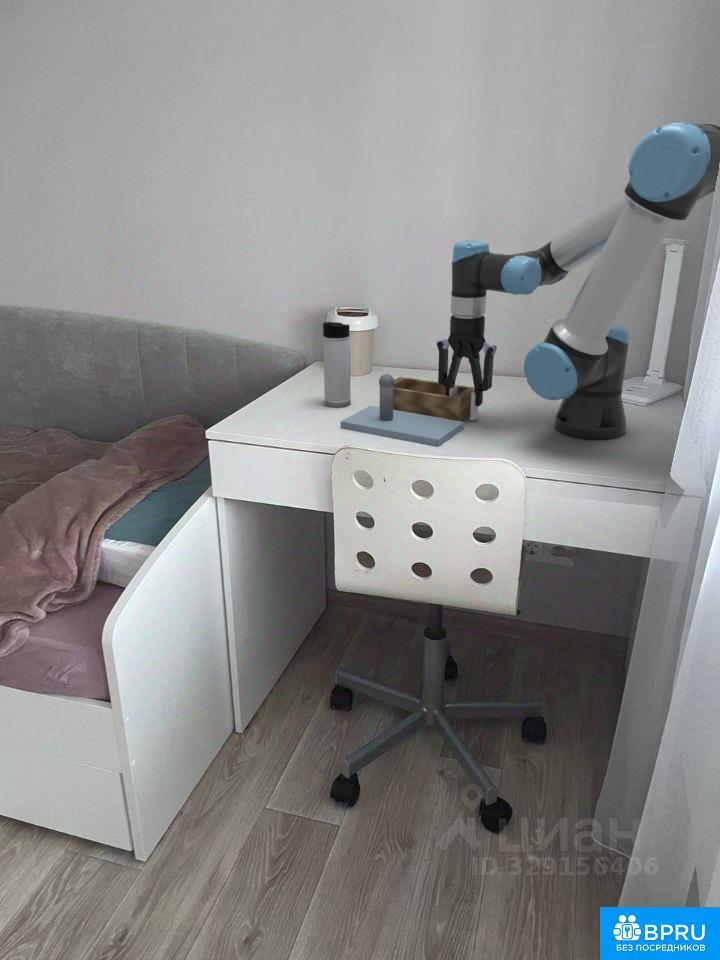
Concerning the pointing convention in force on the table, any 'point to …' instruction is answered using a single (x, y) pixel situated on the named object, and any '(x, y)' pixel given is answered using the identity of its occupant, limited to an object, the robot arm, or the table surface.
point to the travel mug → (336, 364)
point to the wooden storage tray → (431, 399)
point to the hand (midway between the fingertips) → (463, 416)
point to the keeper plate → (401, 421)
